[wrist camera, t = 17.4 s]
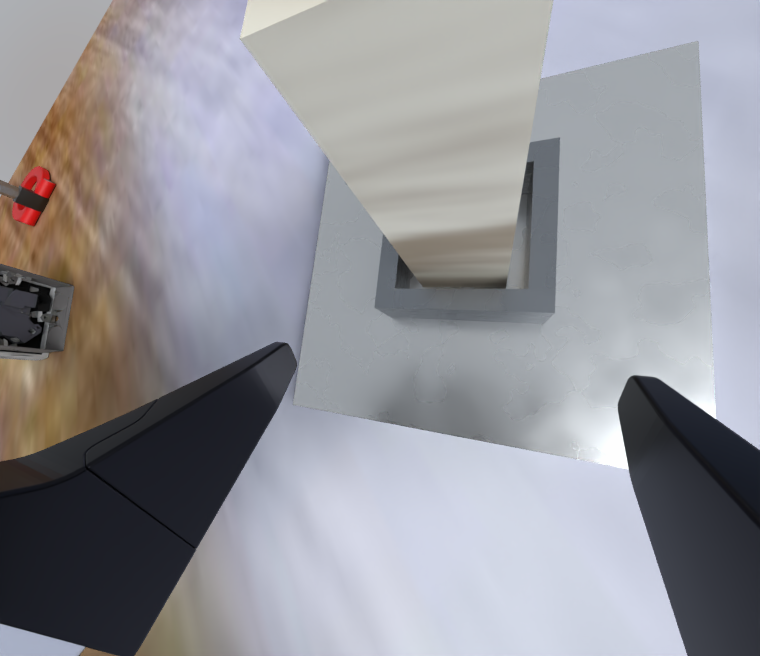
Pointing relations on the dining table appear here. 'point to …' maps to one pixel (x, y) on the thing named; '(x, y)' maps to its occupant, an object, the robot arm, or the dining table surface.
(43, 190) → the tow hook
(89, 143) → the dining table surface
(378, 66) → the birch peg
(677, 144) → the socket plate
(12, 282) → the electrical switch
